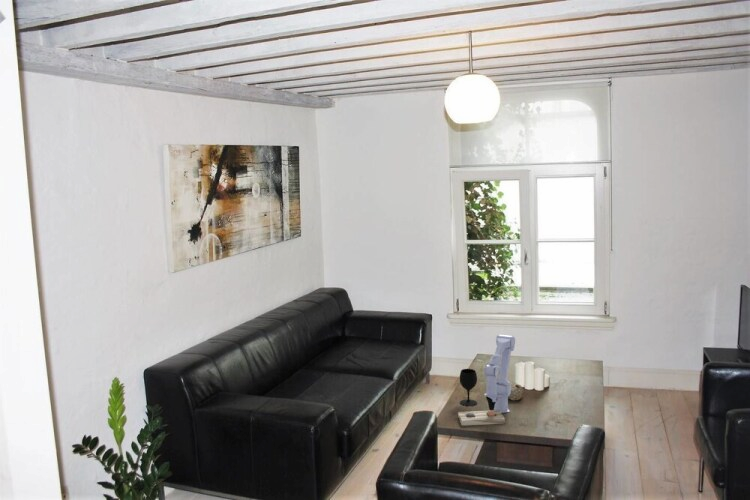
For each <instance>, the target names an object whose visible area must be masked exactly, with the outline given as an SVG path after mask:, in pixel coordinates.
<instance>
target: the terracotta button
mask: <svg viewBox="0 0 750 500" xmlns="http://www.w3.org/2000/svg"><path fill="white" fill-rule="evenodd" d="M487 411H488V417H492V416H495V411H494V410H490V409H488V410H487Z"/></svg>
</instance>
